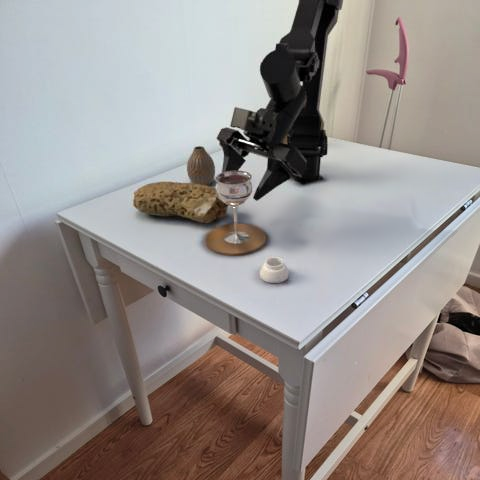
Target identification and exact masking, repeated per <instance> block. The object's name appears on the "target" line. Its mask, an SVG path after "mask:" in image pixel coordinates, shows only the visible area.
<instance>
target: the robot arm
mask: <svg viewBox="0 0 480 480" xmlns="http://www.w3.org/2000/svg"><path fill="white" fill-rule="evenodd" d="M343 4H344V0H298V4H297V7H296V10H295V15H294V17H293V21H292V24H291V28H290V30H289V32H288V33H287V34H286V35H284V36H282V37H281V38H280V40H279V42H278V43H275V48H274V50H272V51H270V52H269V53H267V54H266V55H265V57H263V59H262V61H261V62H260V65H259V73H260V77H261V80H262V83H263V84H264V87H265V89H266V93H267V95H268V97H269V101H268V103H267V105H266V106H265V108H264V107H260V108H259V109H257V111H253V110H249V109H245V108H241V107H237V106H235V107H234V108H233V111H232V112H233V113H232V117H231V120H230V124H229V127H223V128H221V129H220V131H219V132H218V134H217V136H216V140H217V141H218V143H219V146H220V147H221V148H222V149H221V150H222V152H223V162H222V163H223V164H222V168H221V173H222V172H226V171H234V170H237V171H240V169H241V168H242V166H243V165H244V164H245V163H246V162H247V160H246V159H245V158H246V157H247V156H249V154H254V155H256V156H260V157H263V158H265V159H267V163H266V170H265V171H264V174H263V175H262V177H261V179H260V181H259V183H258V186H257V187H256V189H255V191H254V194H253V196H252V198H253V200H254V201H257V202H258V201H260V200H261V199H262V198H263V197H265V196H266V195H267V194H269V193H270V192H272V191H273V190H274V189H277V188H278V187H279V186H281V185H282V184H285V183H286V182H287V181H289V180H290V179H292V180H293V181H295V182H296V183H298V184H300V185H302V186H303V185H304V186H305V185H307V184H310V183H311V184H312V183H314V182H319V181H321V180H324V176H322V175H321V174H320V172H321V159H322V158H324V157H325V156H327V155H328V149H329V141H328V136H327V133H326V129H325V120H324V119H323V116H322V114H321V111H320V106H321V105H320V104H321V98H322V97H321V95H322V90H323V89H322V88H323V81H324V74H325V73H324V72H325V65H326V58H327V57H326V56H327V49H328V41H329V35H330V34H331V32H332V31H333V29H334V27H335V26H336V25H337V23H338V19H339V13H340V11H342V9H343ZM230 127H231V128H230ZM235 128H237V129H240V130H242V131H243V132H242V133H241V132H240V131H239V130H237V129H235ZM286 136H287V144H284V143H283V142H284V140H285V138H286ZM247 138H248V139H247Z"/></svg>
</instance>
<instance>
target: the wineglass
mask: <svg viewBox="0 0 480 480" xmlns="http://www.w3.org/2000/svg"><path fill="white" fill-rule="evenodd" d="M252 177H253V176H252V174H251V173H250V172H248V171H244V170H238V171H237V170H234V171H226V172H222V171H221V172H220V173H218V174H215V176H214V180H215V182H216V184H215V190H216V194H217V196H218V198H219V199H220V200H221V201H222V202H223V203H224V204H226V205H229V206H230V208H232V215H233V222H234V223H233V224H234V225H235V231H233V232H229V233H227V234H226V235H225V236H224V239H225V241H227V242H229V243H242V242H245V241H246V240H248V238H249V235H248V234H247V233H245V232H242V231H237V224H238V208H239V206H241V205H243V204H245V203H246V202H247V201H248V200H249V199H250V198H251V195H252V194H253V183H252V182H251V179H252Z"/></svg>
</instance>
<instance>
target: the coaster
mask: <svg viewBox="0 0 480 480" xmlns="http://www.w3.org/2000/svg"><path fill="white" fill-rule="evenodd" d="M233 231H235V225H234V223H228V224H223V225H220V226H217V227H214V228H213V229H212V230H210V231H209V232H208V233H207V234H206V235H205V236H206V237H205V239H204V240H205V241H204V242H205V244H206V245H205V246H206V247H207V248H208V249H209V250H211V251H212V252H213V253H215V254H219V255H224V256H244V255H248V254H252V253H255V252H256V251H258V250H260V249H262V248H263V247H264V246H265V244H266V242H267V234H266V233H265V231H264V230H263V229H262V228H260V227H258V226H256V225H253V224H248V223H237V231H242V232H245V233H247V234H248V235H249V238H248V240H246V241H245V242H242V243H229V242H227V241H225V239H224V236H225V235H226V234H227V233H229V232H233Z"/></svg>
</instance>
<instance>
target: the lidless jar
mask: <svg viewBox="0 0 480 480" xmlns="http://www.w3.org/2000/svg"><path fill="white" fill-rule="evenodd" d="M259 277H260V279H261V280H262V281H264V282H267V283H271V284H277V283H282V282H284V281H287V280H288V278H289V277H290V271H289V269H288V267H287V265H286V264H285V262H284V260H283V259H282V258H280V257H278V256H271V257H268V258H267V259H266V260H265V261H264V264H263V265H262V267H260V270H259Z"/></svg>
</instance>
